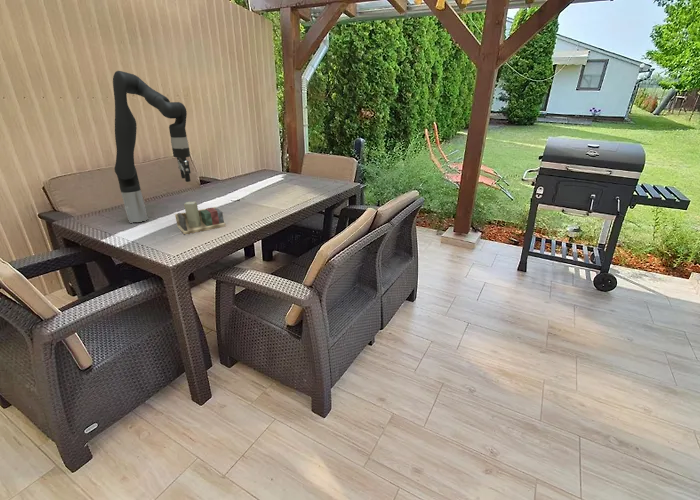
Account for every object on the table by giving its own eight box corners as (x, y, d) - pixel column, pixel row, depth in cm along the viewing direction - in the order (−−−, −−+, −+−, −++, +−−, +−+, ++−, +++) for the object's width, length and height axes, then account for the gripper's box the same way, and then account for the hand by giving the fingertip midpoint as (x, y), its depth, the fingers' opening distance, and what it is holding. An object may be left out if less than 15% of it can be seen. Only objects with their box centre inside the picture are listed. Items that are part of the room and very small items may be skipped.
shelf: (184, 235, 175) (181, 219, 172) (177, 227, 184) (174, 212, 181) (225, 226, 187) (223, 211, 183) (217, 219, 196) (215, 205, 193)
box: (201, 224, 185) (197, 201, 179) (198, 227, 181) (194, 203, 175) (191, 224, 184) (186, 201, 179) (188, 227, 180) (183, 203, 175)
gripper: (169, 145, 172) (175, 178, 179) (175, 149, 161) (181, 183, 168) (185, 144, 176) (190, 176, 183) (192, 148, 166) (197, 181, 172)
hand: (186, 179), depth 175 cm, fingers open, 8 cm apart
